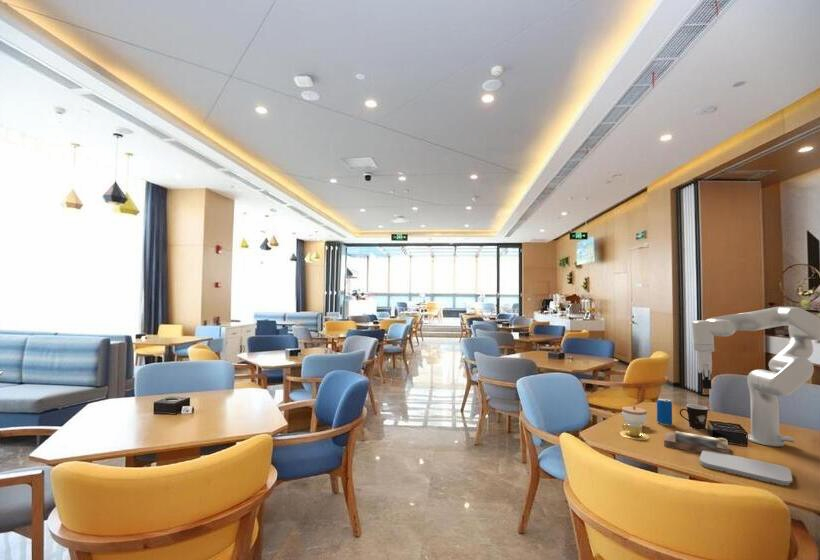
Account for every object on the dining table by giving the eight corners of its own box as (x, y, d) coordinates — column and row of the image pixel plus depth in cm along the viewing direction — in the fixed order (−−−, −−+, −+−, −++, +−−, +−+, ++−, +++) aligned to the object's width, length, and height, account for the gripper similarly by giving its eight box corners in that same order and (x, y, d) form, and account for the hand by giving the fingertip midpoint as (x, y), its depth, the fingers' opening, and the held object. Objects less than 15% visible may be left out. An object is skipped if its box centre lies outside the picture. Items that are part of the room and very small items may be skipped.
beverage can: (674, 426, 199) (674, 401, 199) (660, 425, 200) (659, 400, 201) (668, 422, 205) (668, 398, 206) (654, 421, 206) (654, 397, 207)
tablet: (702, 454, 165) (702, 449, 165) (790, 473, 148) (790, 467, 148) (698, 467, 152) (698, 461, 152) (793, 489, 135) (793, 482, 135)
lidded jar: (621, 426, 198) (621, 406, 198) (622, 420, 207) (622, 402, 208) (646, 430, 193) (646, 410, 193) (647, 424, 202) (646, 405, 202)
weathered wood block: (727, 448, 170) (727, 435, 171) (729, 458, 160) (729, 444, 160) (666, 437, 183) (666, 424, 183) (664, 445, 172) (664, 433, 173)
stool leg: (727, 447, 164) (727, 438, 164) (727, 449, 162) (727, 440, 162) (675, 437, 174) (675, 429, 175) (675, 439, 172) (675, 431, 172)
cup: (652, 436, 185) (652, 424, 186) (645, 442, 177) (645, 430, 177) (623, 429, 194) (623, 418, 194) (616, 436, 185) (616, 424, 185)
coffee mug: (707, 426, 199) (707, 406, 199) (709, 431, 191) (708, 410, 192) (679, 422, 205) (678, 402, 205) (679, 427, 198) (679, 406, 198)
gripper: (693, 345, 191) (696, 384, 190) (694, 349, 179) (697, 391, 178) (713, 345, 187) (716, 385, 186) (715, 350, 174) (718, 392, 174)
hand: (707, 388), depth 182 cm, fingers closed
